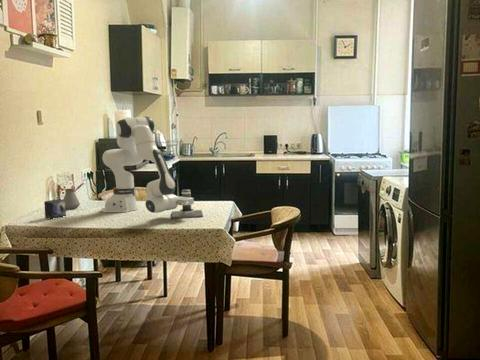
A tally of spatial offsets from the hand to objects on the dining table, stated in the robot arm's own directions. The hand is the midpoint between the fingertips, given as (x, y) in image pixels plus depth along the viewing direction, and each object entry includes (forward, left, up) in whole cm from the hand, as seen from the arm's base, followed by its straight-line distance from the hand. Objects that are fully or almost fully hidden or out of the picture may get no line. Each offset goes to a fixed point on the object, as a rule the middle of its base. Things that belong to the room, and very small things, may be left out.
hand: (187, 198), depth 288 cm
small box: (-79, +11, -10) cm, 80 cm away
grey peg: (-1, -1, -7) cm, 7 cm away
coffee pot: (-74, +44, -10) cm, 87 cm away
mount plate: (-1, -1, -10) cm, 10 cm away
